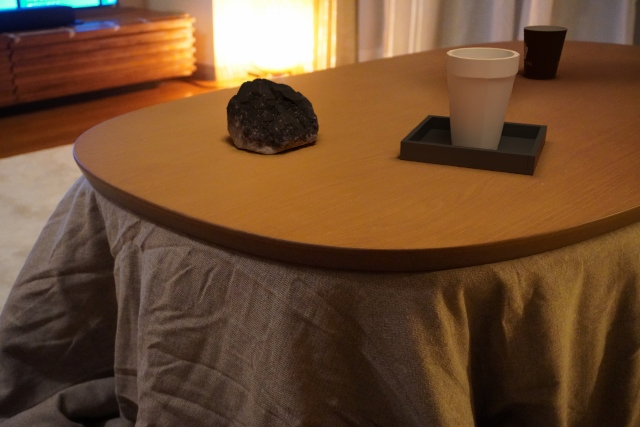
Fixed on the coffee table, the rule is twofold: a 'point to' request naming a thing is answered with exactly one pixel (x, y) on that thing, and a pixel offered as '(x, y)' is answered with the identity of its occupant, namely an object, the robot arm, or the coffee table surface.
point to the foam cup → (479, 94)
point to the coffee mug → (542, 51)
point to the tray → (511, 155)
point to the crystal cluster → (270, 117)
